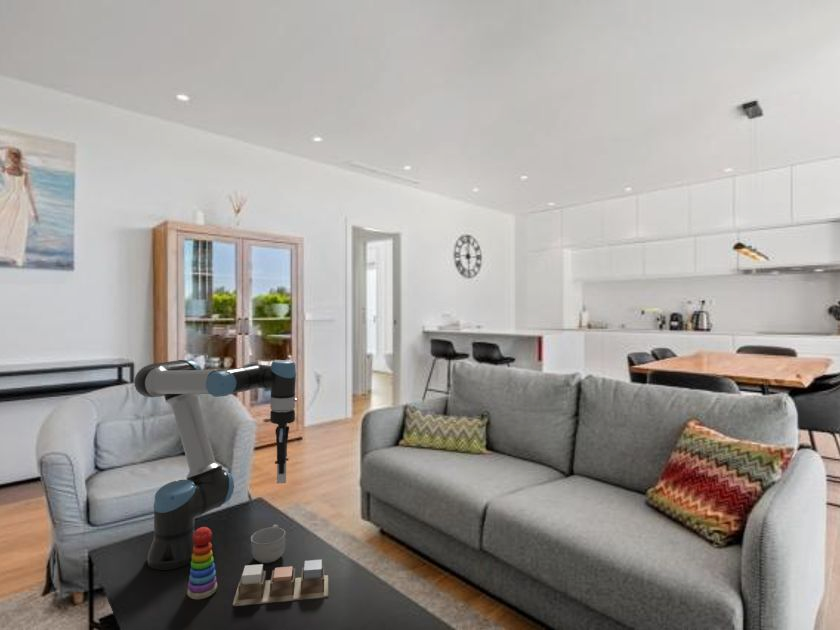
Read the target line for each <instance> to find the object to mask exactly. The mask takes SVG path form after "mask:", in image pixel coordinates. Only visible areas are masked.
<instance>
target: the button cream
mask: <svg viewBox="0 0 840 630" xmlns="http://www.w3.org/2000/svg"><path fill="white" fill-rule="evenodd" d="M263 571H264V563H260V564H250V565H244V568H243V572H242V573H243V575H242V574H241V576H242V585H247V584H258V583H262V579H263Z"/></svg>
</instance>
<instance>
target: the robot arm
mask: <svg viewBox="0 0 840 630" xmlns="http://www.w3.org/2000/svg"><path fill="white" fill-rule="evenodd" d="M296 376H297V371H296V363H295V361H293V360H286V359H281V360H274V361H272V362H271V364H270V365H267V364H259V363H246V364H244V366H243V365H242V367H236V368H229V369H202V367H201V366H200V365H199V364H198V362H196V361H194V360H191V359H176V360H172V361H165V362H154V363H150V364H148V365H145V366H144V367H142V368H140V369H139V370H138V372H137V373H136V374H135V377H134V382H133V384H134V387H135V388H134V389H135V390H136V391H137V393H139V394H140V395H141V396H143V397H146V398H159V397H164V399H165V402H166V404H169V405H171V407H172V411H173V414H174V418H175V422H176V426H177V429H178V433H179V437H180V440H181V444H182V446H183V447H182V448H183V451H184V454H185V459H186V463H187V466H188V469H189V471H188V474H187V475H186V479H178V480H174V481H171V482H169V483H166V484H164V485H162V486H161V487H160V488H159V489H158V490H157V491H156V492H155V495H154V502H153V511H154V513H153V516H154V517H153V518H154V519H153V539H152V542H151V545H150V547H149V551H148V552H147V553H148V554H147V565H148V566H149V568H151V569H154V570H158V571H159V570H161V571H167V570H174V569H178V568H181V567H184V566H186V565H189V564H191V561H192V554H193V553H194V552H193V547H194V546H195V545H196V544H195V543H194V542H193V534H194V532H195V531H196V530H195V519H196V518H198V517H200V516H202V515H205V514H206V513H208V512H211V511H212V510H214V509H217V508H220V507H222V505H225V504H226V503H228V502H229V501H230V500H231V498H232V496H233V494H234V492H235V481H234V478H233V475H232V473H230V471H228V470H227V469H223V466H222V464H221V463H219V462H217V461H216V459H215V456H214V455H215V454H214V452H213V447H212V444H211V440H210V438H209V434H208V429H207V427H206V423H205V419H204V415H203V412H202V408H201V405H200V402H199V396H200V395H211V396H212V397H214V398H216V397H217V398H218V397H219V398H221V397H227V396H230V395H233V394H234V395H235V394H237V393H243V392H247V391H252V390H256V389H263V390H265V389H266V390H270V397H269V399H270V400H269V401H270V402H269V403H270V405H269V406H270V414H269V416H270V418H269V419H270V420H269V422H270V423H271V424H275V425H277V426H276V428H275V435H276V436H275V439H276V442H275V443H276V460H275V461H274V465H277V467H276V484H286V483H287V461H290V460H289V459H290V458H289V457H287V456H288V441H289V433H290V425H288V424H292V423H294V422H295V420H296V410H295V408H296V406H295V405H296V402H298V398H296V382H297V381H296V380H297V377H296Z"/></svg>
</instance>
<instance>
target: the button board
mask: <svg viewBox="0 0 840 630" xmlns="http://www.w3.org/2000/svg"><path fill="white" fill-rule="evenodd" d="M274 572H275V569H272V571H271V577H270V579H268V580H267V579H266V578H267V571H266V570H263V579H262V583H258V584H247V585H242V575H243V572H242V573H241V577H240V580H239V583H238V586H237V588H236V592H235V595H234V598H233V602H232V607H238V606H250V605H259V604H260V605H261V604H270V603H280V602H288V601H289V602H292V601H302V600H313V599H320V598H321V599H322V598H323V599H324V598H329V575H328V574H327V575H326V574H325V565H322V577H321V578H315V579H304V567H301V577H296V567H295V568H294V567H293V574H292V581H281V582H273V577H274Z"/></svg>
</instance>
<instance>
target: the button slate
mask: <svg viewBox="0 0 840 630" xmlns="http://www.w3.org/2000/svg"><path fill="white" fill-rule="evenodd" d="M322 562H323V559H312V560H311V559H310V560H304V567H303V568H304V579H315V578H321V577H322V566H323V565H322V564H323V563H322Z"/></svg>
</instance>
